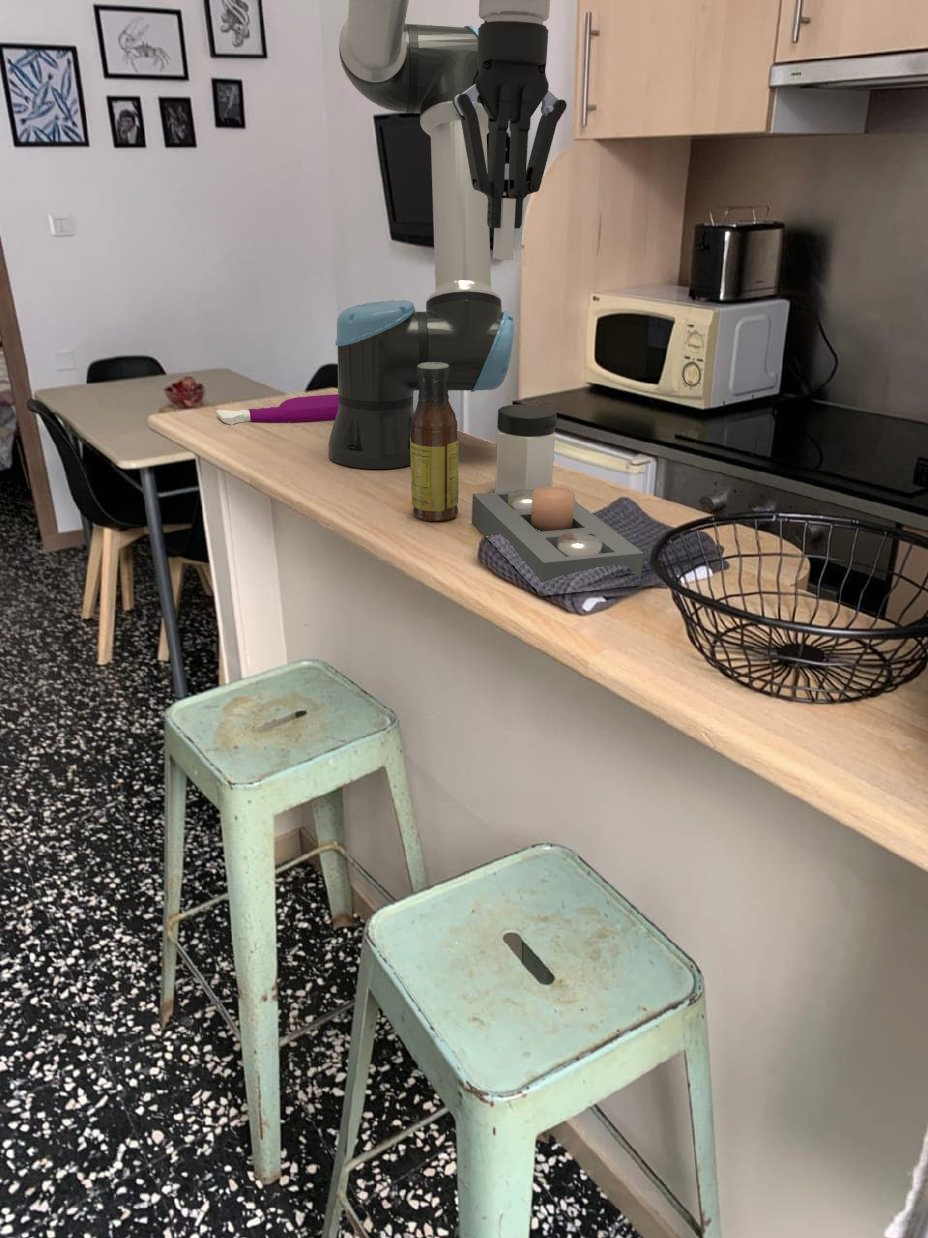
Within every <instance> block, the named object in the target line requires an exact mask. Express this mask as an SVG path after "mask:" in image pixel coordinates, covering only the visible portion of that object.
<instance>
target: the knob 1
mask: <svg viewBox="0 0 928 1238" xmlns="http://www.w3.org/2000/svg"><path fill="white" fill-rule="evenodd" d="M532 497H533V491H516V492H512V493H510V494H509V495H508V505H509V506H510V507H511V508H512V509H513V510H516V509H529V508H532Z"/></svg>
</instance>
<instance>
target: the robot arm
mask: <svg viewBox="0 0 928 1238" xmlns="http://www.w3.org/2000/svg"><path fill="white" fill-rule="evenodd" d="M409 1H410V0H348V13H347V14H348V15H347V19H346V20H345V22H344V23H343V25H342V26H341V30H340V35H339V44H338V51H339V59H340V62H341V67H342V69H343V71H344V73H345V75H346V77H347V78H348V80H349V81H350V82H351V84H352V86H353V87H354V88H355V89H356V90H357V91H358V92H359V93H360V94H361V95H362V96H364V97H365V98H366V99H367V100H368V101H371V103H374V104H375V105H377V106H379V107H381V108H383V109H386V110H389V111H392V112H396V113H409V114H413V113H414V114H419V119H420V120H419V123H420V126H421V129H422V130H423V131H424V133H426V134H427V135H428V136H430V147H431V149H430V151H431V152H430V153H431V154H430V155H431V181H432V182H431V183H432V185H431V187H432V188H431V189H432V212H433V213H432V217H433V219H432V221H433V248H434V250H433V251H434V253H433V254H434V280H435V281H434V282H435V283H434V284H435V290H434V292H433V293H432V294H430V296H429V297H428V298H427V299H426V300H425V310H426V311H416V307H415V305H414V303H413V301H410V300H405V299H402V300H381V301H373V302H367V303H360V304H356V305H354V306H349V307H347V308H345V309H343V310H341V312H340V313H339V315H338V316H337V319H336V320H337V321H336V339H335V342H334V343H335V346H337V394H338V411H337V415H336V418H335V420H334V423H333V424H332V425H333V426H332V429H331V431H330V435H329V439H328V458H329V459H330V460H331V461H332V462H334V463H336V464H339V465H340V466H341V465H342V466H345V467H350V468H356V469H369V470H387V469H389V470H390V469H397V468H404V467H405V468H406V467H410V466H411V450H410V430H411V423H412V417H413V415H414V413H415V409H414V391H419V379H418V376H417V366H418V365H419V364H421V363H425V362H441V363H446V364H448V365H449V370H450V375H449V377H448V391H468V392H469V391H470V392H471V393H474V392H476V391H490V390H491V391H493V390H495V389H498V388H499V387H500V386H501V385H502V384H503V383H504V381H505V380H506V379H505V378H506V377H507V373H508V370H509V365H510V362H511V356H512V350H513V342H514V331H515V330H514V325H515V324H514V316H513V315H512V313H510V312H508V311H506V310H505V311H503V310H502V309H503V307H502V299H501V297H500V295H498V294H497V292H495V291H494V290H493V289H492V279H491V278H492V277H491V276H492V275H491V248H490V247H491V242H490V241H491V240H490V237H491V236H490V229H493V249H492V250H493V251H492V258H493V259H496V260H501V261H513V260H514V259H513V258H514V241H515V229H521V226H522V223H523V208H524V207H523V206H524V200H525V199H526V197H527V196H528V195H531V194H533V193H537V192H538V191H540V188H541V185H542V182H543V178H544V174H545V170H546V166H547V162H548V158H549V154H550V150H551V147H552V144H553V140H554V135H555V134H556V133H555V132H556V129H557V125H558V123H559V121H560V119H561V118H562V116H563V114H564V113H565V111H566V110H567V105H568V104H567V102H566V100H565V99H559V98H558V97H556V95H555V94H554V93H552V92H551V91H550V90H549V87H550V86H549V81H548V78H547V75H546V68H547V59H548V44H549V43H548V42H549V40H548V39H549V29H548V28H547V26H546V25H545V24H544V23H545V22H546V21H547V20H548V19H550V9H551V8H550V7H551V0H478V16H479V18H480V19H481V20H483V23H481V24H480V26H479V27H478V28H477V27H474V26H471V25H465V26H463V27H462V26H445V25H434V24H433V25H431V24H428V25H427V24H414V23H413V24H412V23H406V19H407V13H408V8H409V7H408V6H409ZM540 104H541V107H540V113H541V116H540V119H539V121H538V125H537V129H536V131H535V132H536V133H535V136H534V140H533V143H532V148H531V151H530V156H529V159H528V148H529V147H528V143H529V142H528V141H529V132H530V130H531V122H532V121H531V118H532V116H533V115H534V113H535V112H536V111H537V109H538V107H539V106H540ZM508 129H509V132H510V136H509V137H510V138H509V157H508V158H509V159H508V161H509V163H508V182H507V195H508V197H503V195H504V193H505V175H506V173H505V171H506V153H507V151H506V150H507V136H508V135H507V134H508V133H507V131H508ZM487 135H488V139H487ZM487 140H488V142H487ZM487 143H488V144H487ZM527 162H528V163H527Z"/></svg>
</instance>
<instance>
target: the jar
mask: <svg viewBox="0 0 928 1238" xmlns="http://www.w3.org/2000/svg"><path fill="white" fill-rule="evenodd" d="M557 420H558V419H557V412H556V411H555V409H552V408H550V407H547V406H543V405H537V404H522V403H521V404H520V403H519V404H508V405H504V406H501V407H500V408H498V410H497V426H496V427H497V430H496V431H497V434H496V435H497V436H496V455H495V456H496V457H495V474H494V475H495V477H494V492H506V491H520V490H534V489H537V488H542V487H553V486H552V485H553V473H554V472H553V471H554V462H555V446H556V443H555V442H556V433H555V431H556V426H557V422H558V421H557Z"/></svg>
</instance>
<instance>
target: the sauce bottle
mask: <svg viewBox="0 0 928 1238" xmlns="http://www.w3.org/2000/svg"><path fill="white" fill-rule="evenodd" d="M449 375H450V370H449V365H448V364H446V363H441V362H425V363H421V364H419V365H418V366H417V376H418V379H419V390H418V394H417V395H418V396H417V400H418V401H417V403H416V407H415V409H414V415H413V417H412V423H411V430H410V450H411V465H410V478H411V479H410V480H411V482H410V483H411V485H410V486H411V487H410V488H411V504H412V506H413V507H412V510H413V511H412V512H413V515H414V516H415V517H417V518H418V519H420V520H424V521H426V522H445V521H449V520H452V519H454V518H456V516H457V515H458V509H459V508H458V504H459V437H458V421H457V418H456V416H457V415H456V412H455V411H454V409H453V407H452V405H451V402H450V401H449V399H450V396H449V390H448V377H449Z"/></svg>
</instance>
